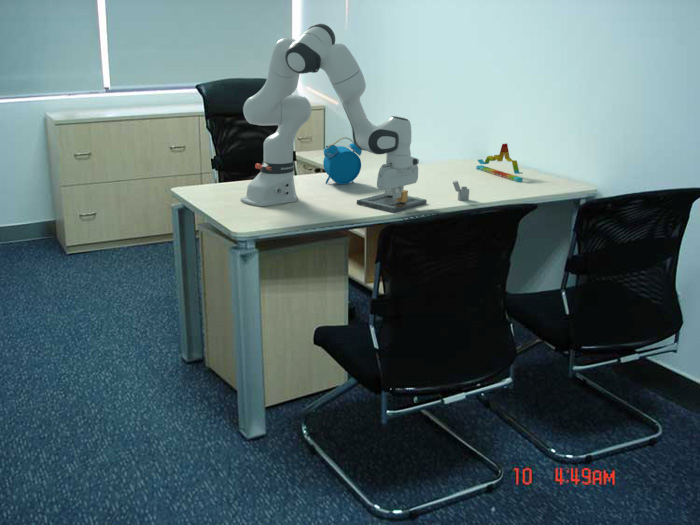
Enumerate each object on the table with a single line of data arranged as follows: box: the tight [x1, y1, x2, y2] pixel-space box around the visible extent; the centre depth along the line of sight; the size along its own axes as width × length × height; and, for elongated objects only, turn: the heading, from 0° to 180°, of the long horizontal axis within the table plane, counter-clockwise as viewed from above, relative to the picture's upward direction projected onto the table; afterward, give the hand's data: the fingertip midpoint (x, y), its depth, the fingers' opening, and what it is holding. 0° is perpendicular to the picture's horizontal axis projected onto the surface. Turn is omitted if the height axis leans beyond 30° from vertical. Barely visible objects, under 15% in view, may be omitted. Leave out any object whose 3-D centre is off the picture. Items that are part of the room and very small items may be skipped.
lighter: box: [452, 180, 470, 202], centre depth 294 cm, size 7×2×8 cm, turn 117°
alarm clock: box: [322, 136, 363, 185], centre depth 316 cm, size 17×10×20 cm, turn 116°
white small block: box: [383, 189, 393, 196], centre depth 293 cm, size 3×3×4 cm
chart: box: [475, 143, 524, 183], centre depth 340 cm, size 30×3×15 cm, turn 26°
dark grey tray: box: [356, 193, 427, 214], centre depth 287 cm, size 20×18×2 cm
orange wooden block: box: [396, 189, 409, 203], centre depth 282 cm, size 3×3×4 cm
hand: (396, 198), depth 280 cm, fingers closed
